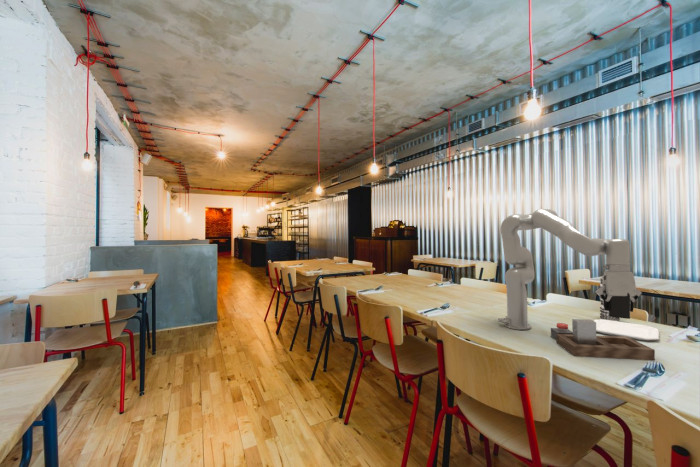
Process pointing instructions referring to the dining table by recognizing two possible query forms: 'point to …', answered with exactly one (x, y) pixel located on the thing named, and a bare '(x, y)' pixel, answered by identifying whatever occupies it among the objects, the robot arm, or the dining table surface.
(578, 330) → the wooden sorting tray
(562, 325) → the button
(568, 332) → the button housing
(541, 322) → the dining table surface
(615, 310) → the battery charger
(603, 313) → the decorative candle
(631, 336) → the plate
